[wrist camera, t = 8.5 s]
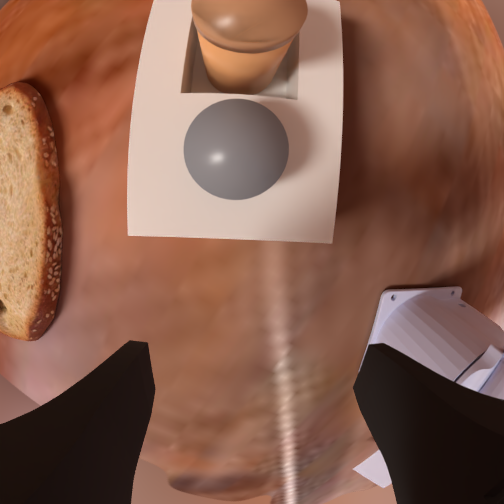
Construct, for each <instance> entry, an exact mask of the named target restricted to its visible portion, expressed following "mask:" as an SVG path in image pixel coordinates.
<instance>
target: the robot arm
mask: <svg viewBox="0 0 504 504" xmlns="http://www.w3.org/2000/svg"><path fill="white" fill-rule="evenodd" d="M461 294H462V288H461V287H459V286H455V287H438V288H418V289H392V290H385V291H384V292H383V293H382V295H381V298H380V302H379V306H378V310H377V314H376V317H375V321H374V325H373V328H372V331H371V335H370V338H369V341H368V345H367V348H366V351H365V354H364V357H363V360H362V363H361V366H360V369H359V373H358V376H357V378H356V381H355V384H354V386H353V389H354V392H355V396H356V399H357V402H358V405H359V408H360V411H361V413H362V415H363V417H364V419H365V421H366V423H367V425H368V428H369V430H370V432H371V434H372V436H373V438H374V440H375V442H376V444H377V446H378V448H379V450H380V452H381V454H382V456H383V458H384V461H385V463H386V466H387V469H388V472H389V475H390V478H391V481H392V485H393V489H394V492H395V497H396V501H397V504H504V331H503V330H502V329H501V327H500V326H499V325H497V324H496V323H495V322H493V321H492V320H490V319H489V318H488V317H486V316H485V315H483V314H482V313H481V312H479V311H478V310H476V309H475V308H473V307H472V306H470V305H469V304H467V303H466V302H464V301H463V300H461V299H460V297H461ZM392 295H394V296H393V298H391V297H392ZM154 395H155V384H154V378H153V373H152V367H151V361H150V354H149V347H148V343H147V342H139V341H131V340H130V341H128V342H127V343H126V344H124V345H123V346H122V347H121V348H120V349H118V350H117V351H116V352H115V353H114V354H113V355H111V356H110V357H109V358H108V359H107V360H105V361H104V362H103V363H102V364H100V365H99V366H98V367H97V368H96V369H94V370H93V371H92V372H91V373H89V374H88V375H87V376H85V377H84V378H83V379H81V380H80V381H79V382H77V383H76V384H74V385H73V386H72V387H70V388H69V389H67V390H66V391H65V392H63V393H62V394H60V395H59V396H57V397H56V398H54V399H52V400H51V401H49V402H47V403H45V404H44V405H42V406H40V407H39V408H37V409H35V410H33V411H31V412H29V413H26V414H24V415H22V416H20V417H17V418H15V419H13V420H10V421H8V422H6V423H3V424H0V504H131V496H132V488H133V480H134V475H135V470H136V466H137V462H138V459H139V455H140V452H141V448H142V445H143V441H144V438H145V434H146V431H147V427H148V424H149V421H150V417H151V413H152V407H153V401H154Z"/></svg>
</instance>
